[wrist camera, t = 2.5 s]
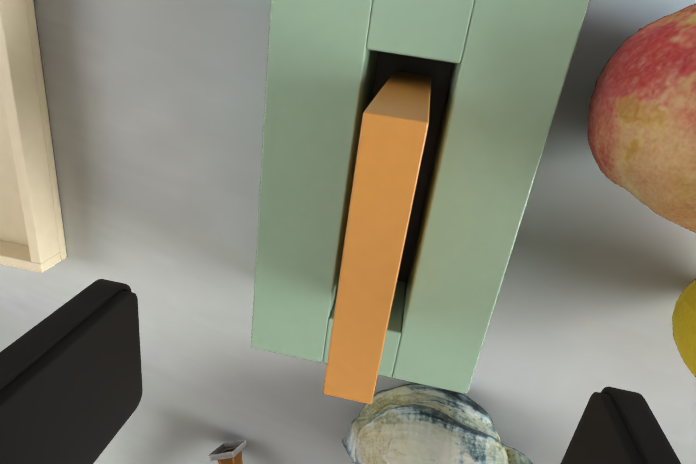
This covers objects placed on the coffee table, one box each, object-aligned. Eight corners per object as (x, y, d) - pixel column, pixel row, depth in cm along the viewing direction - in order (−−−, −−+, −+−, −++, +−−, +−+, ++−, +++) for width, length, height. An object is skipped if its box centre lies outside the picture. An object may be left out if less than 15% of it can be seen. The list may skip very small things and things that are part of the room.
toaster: (309, -34, 20) (273, -49, 15) (555, 0, 19) (592, -6, 15) (280, 307, 27) (249, 364, 23) (457, 344, 26) (462, 411, 22)
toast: (394, 70, 21) (362, 111, 12) (431, 76, 20) (429, 122, 11) (363, 255, 24) (322, 394, 15) (394, 261, 24) (371, 405, 15)
